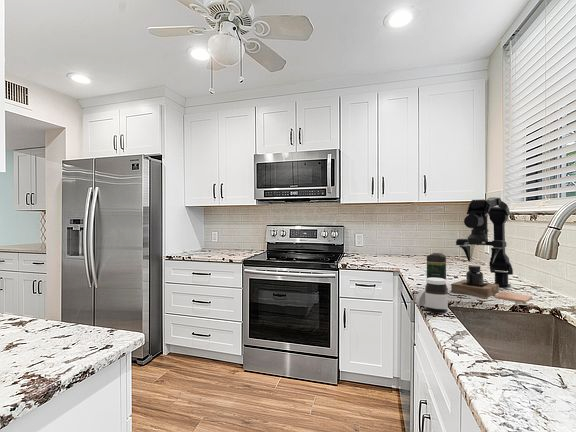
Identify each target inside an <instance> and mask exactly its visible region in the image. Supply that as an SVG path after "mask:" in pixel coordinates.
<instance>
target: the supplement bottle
mask: <svg viewBox="0 0 576 432" xmlns="http://www.w3.org/2000/svg"><path fill="white" fill-rule="evenodd" d="M465 277H466V278H465V280H466V284H467V285H470V286H477V287H483V282H484V274H483V272H482V271H481V265H476V264H475V265H468V271H466V274H465Z"/></svg>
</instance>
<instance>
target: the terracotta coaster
mask: <svg viewBox="0 0 576 432" xmlns="http://www.w3.org/2000/svg"><path fill="white" fill-rule="evenodd" d="M493 298H494V299H495V298H496V299H499V300H500V299H501V300H506V301H512V300H513V302H518V301H519V302H520V303H524V302H526V303H527V302H529V301H531V300H532V299H533V296H532V295H527V294H521V293H512V292H508V291H507V292H506V291H501V292H498V293H496V294H494V295H493ZM528 300H529V301H528Z"/></svg>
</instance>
